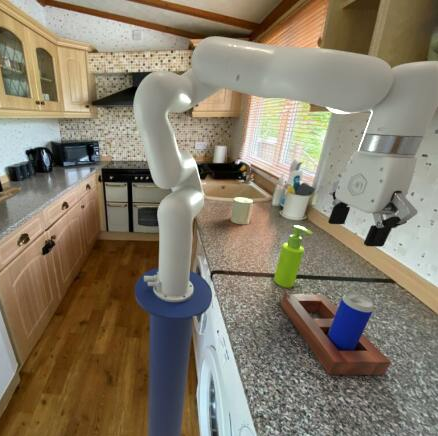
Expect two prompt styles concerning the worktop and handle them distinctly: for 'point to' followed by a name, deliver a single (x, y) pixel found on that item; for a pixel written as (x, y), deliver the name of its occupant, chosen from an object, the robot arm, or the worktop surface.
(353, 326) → the beverage can
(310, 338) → the holder
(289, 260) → the soap dispenser
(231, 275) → the worktop surface
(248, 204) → the can
